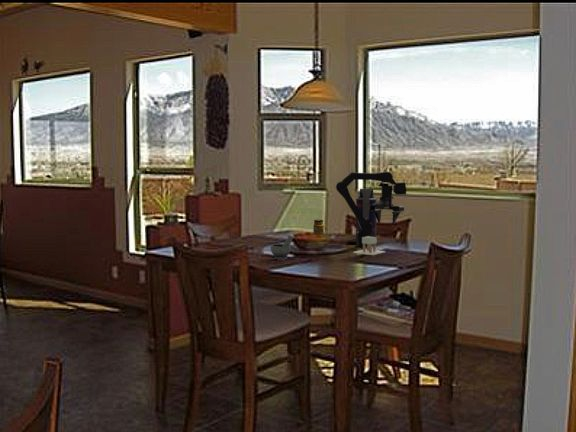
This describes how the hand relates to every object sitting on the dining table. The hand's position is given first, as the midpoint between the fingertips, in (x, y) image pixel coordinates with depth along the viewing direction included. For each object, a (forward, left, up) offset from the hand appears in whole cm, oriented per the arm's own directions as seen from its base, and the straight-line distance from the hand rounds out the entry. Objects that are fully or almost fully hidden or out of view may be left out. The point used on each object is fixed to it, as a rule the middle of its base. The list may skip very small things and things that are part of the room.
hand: (386, 223), depth 377 cm
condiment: (-45, -3, -13) cm, 47 cm away
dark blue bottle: (-25, +18, -13) cm, 34 cm away
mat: (+3, -21, -13) cm, 25 cm away
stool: (+3, -21, -12) cm, 25 cm away
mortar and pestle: (-19, -65, -13) cm, 69 cm away
